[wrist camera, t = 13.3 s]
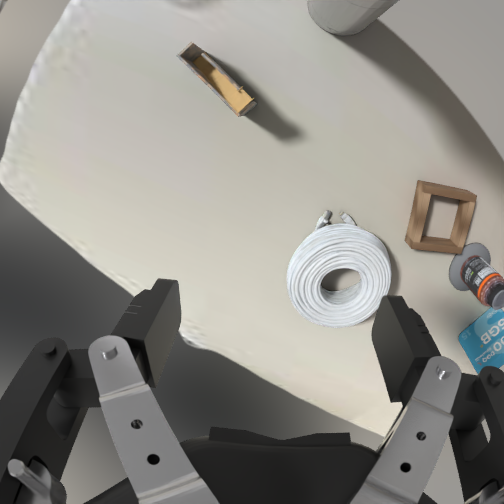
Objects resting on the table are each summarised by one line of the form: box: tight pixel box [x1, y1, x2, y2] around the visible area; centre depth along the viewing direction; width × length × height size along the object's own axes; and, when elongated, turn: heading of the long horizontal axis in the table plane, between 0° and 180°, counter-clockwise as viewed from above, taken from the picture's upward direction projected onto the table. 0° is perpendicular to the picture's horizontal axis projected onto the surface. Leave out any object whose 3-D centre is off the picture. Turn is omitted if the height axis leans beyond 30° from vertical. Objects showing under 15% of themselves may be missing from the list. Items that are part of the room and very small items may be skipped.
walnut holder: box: [405, 180, 477, 254], centre depth 44 cm, size 10×10×3 cm
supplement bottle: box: [460, 255, 504, 310], centre depth 43 cm, size 6×6×11 cm
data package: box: [459, 307, 504, 374], centre depth 49 cm, size 12×4×12 cm, turn 136°
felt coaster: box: [449, 243, 491, 291], centre depth 49 cm, size 10×10×1 cm
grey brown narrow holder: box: [177, 42, 257, 117], centre depth 36 cm, size 11×3×10 cm, turn 42°
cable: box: [287, 210, 392, 328], centre depth 49 cm, size 18×18×6 cm
